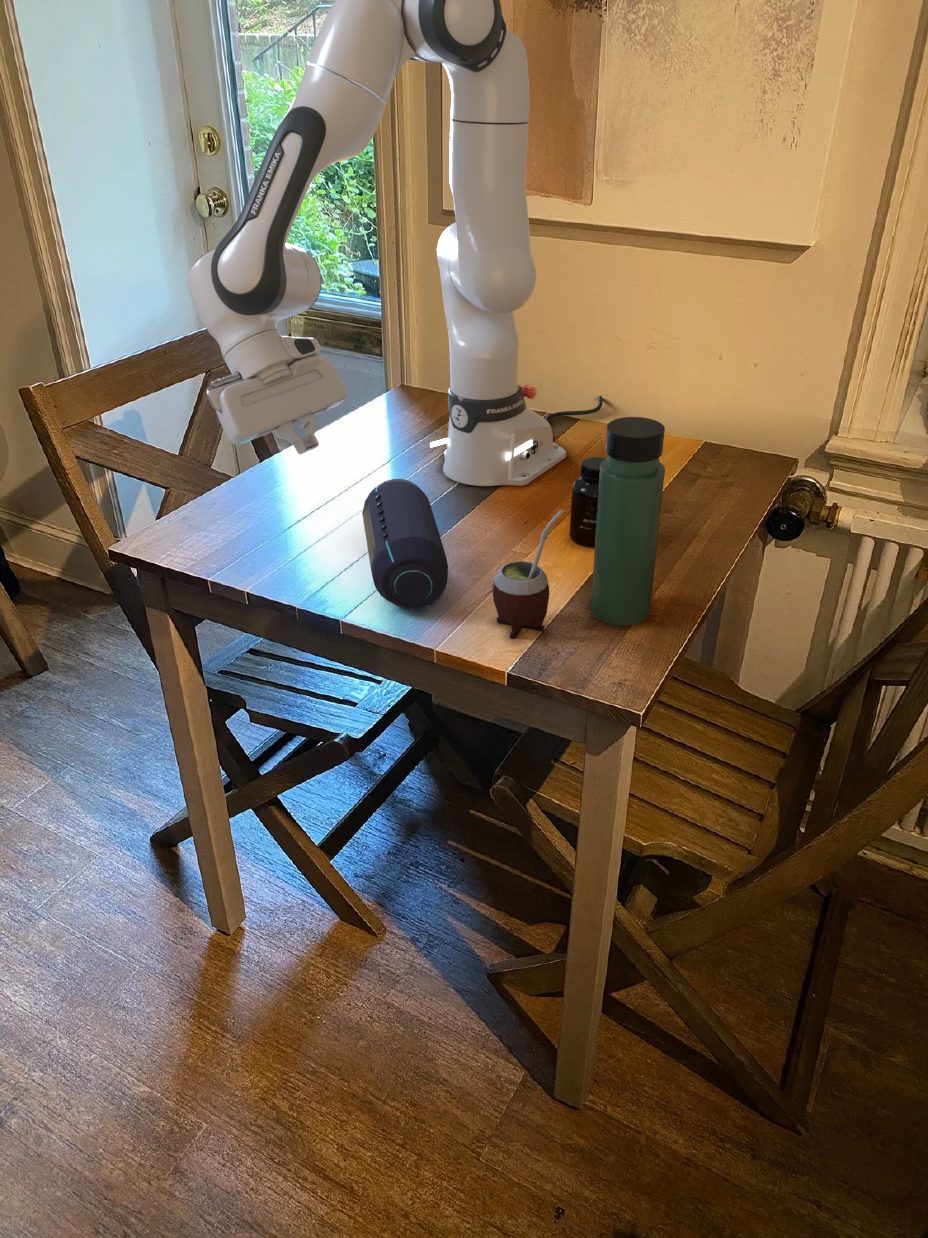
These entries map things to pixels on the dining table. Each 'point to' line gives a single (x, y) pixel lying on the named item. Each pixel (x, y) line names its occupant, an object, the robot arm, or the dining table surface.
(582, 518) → the supplement bottle
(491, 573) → the dining table surface
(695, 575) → the dining table surface
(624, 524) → the thermos
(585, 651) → the dining table surface
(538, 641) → the dining table surface
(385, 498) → the portable speaker
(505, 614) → the mate gourd
